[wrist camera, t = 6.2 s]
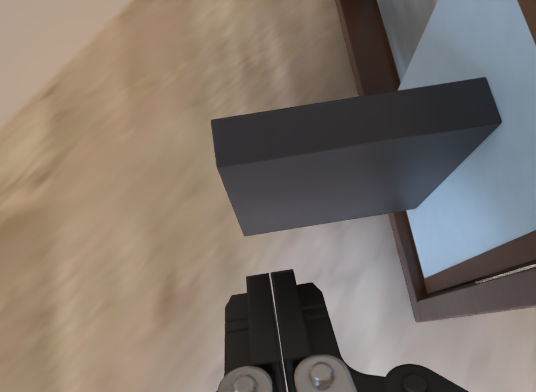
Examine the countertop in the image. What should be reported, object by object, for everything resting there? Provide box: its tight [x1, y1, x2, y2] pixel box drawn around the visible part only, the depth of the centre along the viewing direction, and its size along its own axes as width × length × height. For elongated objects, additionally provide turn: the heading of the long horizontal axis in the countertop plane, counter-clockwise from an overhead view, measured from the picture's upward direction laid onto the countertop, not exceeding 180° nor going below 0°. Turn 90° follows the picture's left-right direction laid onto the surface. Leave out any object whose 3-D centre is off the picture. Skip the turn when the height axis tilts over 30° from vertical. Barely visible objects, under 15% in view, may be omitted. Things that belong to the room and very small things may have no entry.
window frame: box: [335, 0, 536, 322], centre depth 19 cm, size 22×3×16 cm, turn 9°
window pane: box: [211, 0, 536, 294], centre depth 17 cm, size 10×9×13 cm
